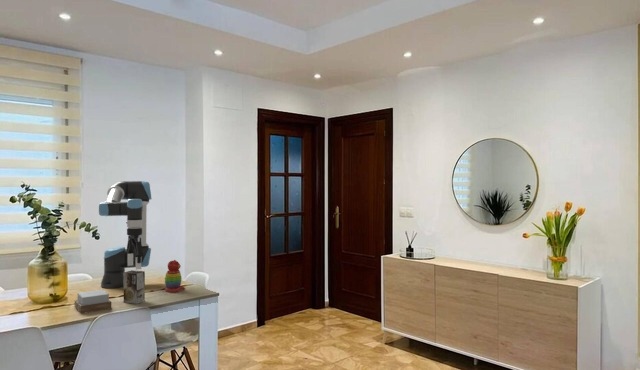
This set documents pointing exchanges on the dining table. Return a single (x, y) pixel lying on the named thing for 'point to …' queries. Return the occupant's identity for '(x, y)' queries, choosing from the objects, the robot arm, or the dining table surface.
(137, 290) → the coffee box
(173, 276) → the stacking bear
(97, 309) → the base slab
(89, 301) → the top slab
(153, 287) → the dining table surface
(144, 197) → the robot arm
